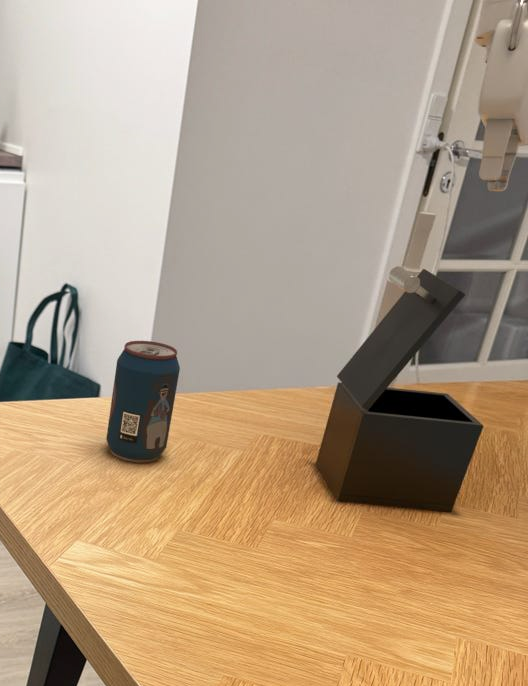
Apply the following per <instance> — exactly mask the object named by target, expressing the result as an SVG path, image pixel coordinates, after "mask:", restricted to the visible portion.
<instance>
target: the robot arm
mask: <svg viewBox="0 0 528 686" xmlns="http://www.w3.org/2000/svg"><path fill="white" fill-rule="evenodd" d="M479 12H480V13H479V17H478V22H477V26H476V31H475V36H474V42H475V43H476V45H478V46H481V47H482V48H485V50H486V52H485V55H484V63H485V64H486V65H485V68H484V74H483V78H482V82H481V87H480V89H479V90H480V91H479V94H478V95H479V96H478V101H477V114H478V116H479V118H480V120H481V122H482V124H483V126H484V134H483V142H482V157H481V161H480V166H479V171H478V177H479V178H480V179H481V180H482V181H487V184H486V187H487V189H488V190H489V191H490V192H504V191H506V189H507V188H508V184H509V180H510V176H511V172H512V169H513V167H514V165H515V164H514V163H515V161H516V158H517V155H518V153H519V152H518V151H519V147H524V146H527V145H528V0H482V1H481V8H480V11H479Z"/></svg>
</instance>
